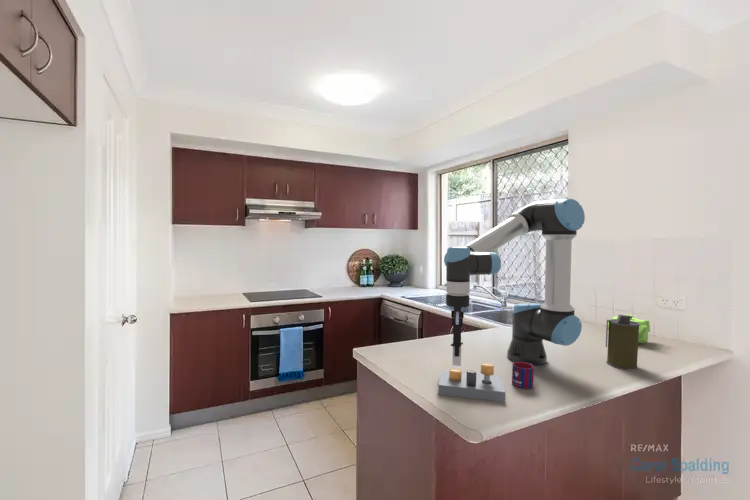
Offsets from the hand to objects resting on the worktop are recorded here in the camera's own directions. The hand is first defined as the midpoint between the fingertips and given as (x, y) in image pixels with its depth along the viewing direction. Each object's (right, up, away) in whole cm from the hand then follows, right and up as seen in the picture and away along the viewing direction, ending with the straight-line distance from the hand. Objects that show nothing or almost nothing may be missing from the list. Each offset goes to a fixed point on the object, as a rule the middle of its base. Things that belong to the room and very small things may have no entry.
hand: (456, 364), depth 121 cm
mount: (+4, -8, -1) cm, 9 cm away
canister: (+72, -8, +26) cm, 76 cm away
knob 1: (-1, -7, 0) cm, 7 cm away
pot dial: (+4, -5, -5) cm, 8 cm away
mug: (+25, -8, +5) cm, 26 cm away
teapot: (+99, -8, +59) cm, 115 cm away
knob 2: (+9, -5, -2) cm, 11 cm away
